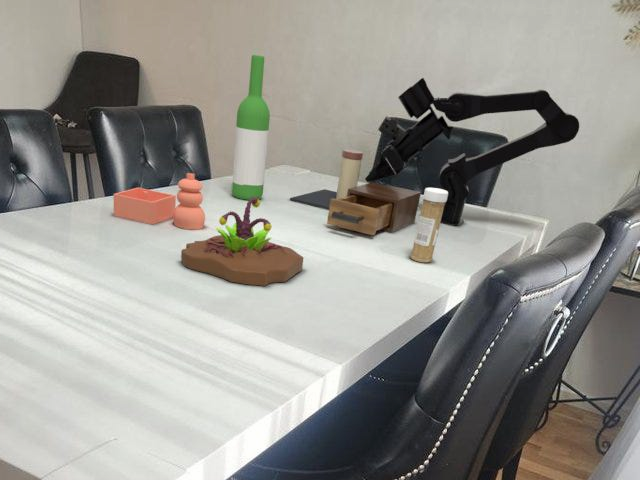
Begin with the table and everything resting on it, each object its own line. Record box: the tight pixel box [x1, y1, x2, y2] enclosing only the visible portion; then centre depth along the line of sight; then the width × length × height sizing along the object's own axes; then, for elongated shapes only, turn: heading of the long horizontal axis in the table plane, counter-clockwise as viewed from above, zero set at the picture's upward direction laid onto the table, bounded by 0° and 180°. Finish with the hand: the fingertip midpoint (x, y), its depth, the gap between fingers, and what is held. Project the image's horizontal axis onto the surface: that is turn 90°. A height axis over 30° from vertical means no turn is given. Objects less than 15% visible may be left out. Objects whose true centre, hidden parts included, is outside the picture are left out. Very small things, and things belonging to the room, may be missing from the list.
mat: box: [289, 188, 337, 211], centre depth 169 cm, size 20×20×1 cm
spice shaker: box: [336, 148, 364, 199], centre depth 166 cm, size 5×5×12 cm
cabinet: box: [347, 181, 422, 234], centre depth 155 cm, size 16×13×7 cm
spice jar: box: [410, 187, 448, 264], centre depth 128 cm, size 5×5×14 cm
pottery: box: [112, 172, 206, 230], centre depth 132 cm, size 18×10×10 cm, turn 69°
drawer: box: [326, 194, 394, 236], centre depth 145 cm, size 19×11×5 cm, turn 150°
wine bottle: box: [231, 54, 271, 201], centre depth 154 cm, size 8×8×30 cm
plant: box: [180, 197, 304, 287], centre depth 112 cm, size 20×20×11 cm
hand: (368, 177), depth 165 cm, fingers open, 9 cm apart
